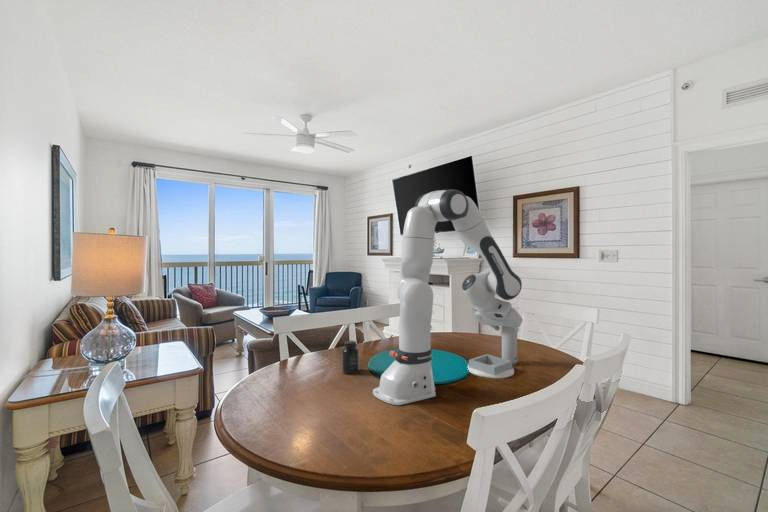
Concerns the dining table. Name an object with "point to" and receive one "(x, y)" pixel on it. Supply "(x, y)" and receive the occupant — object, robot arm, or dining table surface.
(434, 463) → the dining table surface
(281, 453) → the dining table surface
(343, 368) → the supplement bottle
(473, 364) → the stand
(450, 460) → the dining table surface
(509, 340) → the travel mug
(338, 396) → the dining table surface
